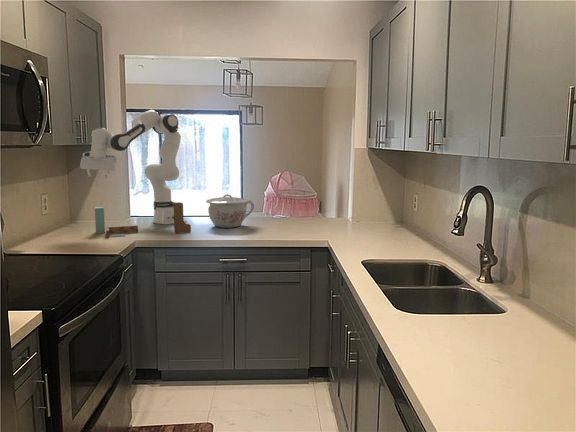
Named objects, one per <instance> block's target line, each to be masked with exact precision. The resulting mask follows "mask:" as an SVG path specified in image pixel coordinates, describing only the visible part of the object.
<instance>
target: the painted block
mask: <svg viewBox="0 0 576 432" xmlns="http://www.w3.org/2000/svg"><path fill="white" fill-rule="evenodd" d="M94 217H95V218H94V219H95V234H106V225H105V223H106V221H105V207H104V206H96V207H94Z"/></svg>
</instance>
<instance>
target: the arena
mask: <svg viewBox="0 0 576 432" xmlns="http://www.w3.org/2000/svg"><path fill="white" fill-rule="evenodd" d="M138 232H139V225H121V226H120V225H119V226H117V225H116V226H105V234H106V239H109V238H111V237H110V234H120V233H124V234H131V233H132V234H134V233H138Z"/></svg>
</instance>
